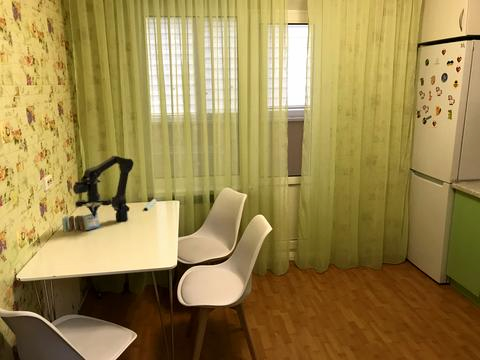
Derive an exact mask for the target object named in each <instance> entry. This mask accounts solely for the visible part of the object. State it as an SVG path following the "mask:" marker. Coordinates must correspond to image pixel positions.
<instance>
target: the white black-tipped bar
mask: <svg viewBox="0 0 480 360" xmlns="http://www.w3.org/2000/svg"><path fill="white" fill-rule="evenodd" d="M155 202H157V199H154V198H153V199H152V200H150V201H149V203H148V204H147V205H146V206H144V208H143V210H144V211H146V210H148V211H149V210H151V208H152V207H153V206H154V205H155V204H156V203H155ZM154 203H155V204H154ZM153 204H154V205H153ZM152 205H153V206H152Z"/></svg>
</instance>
